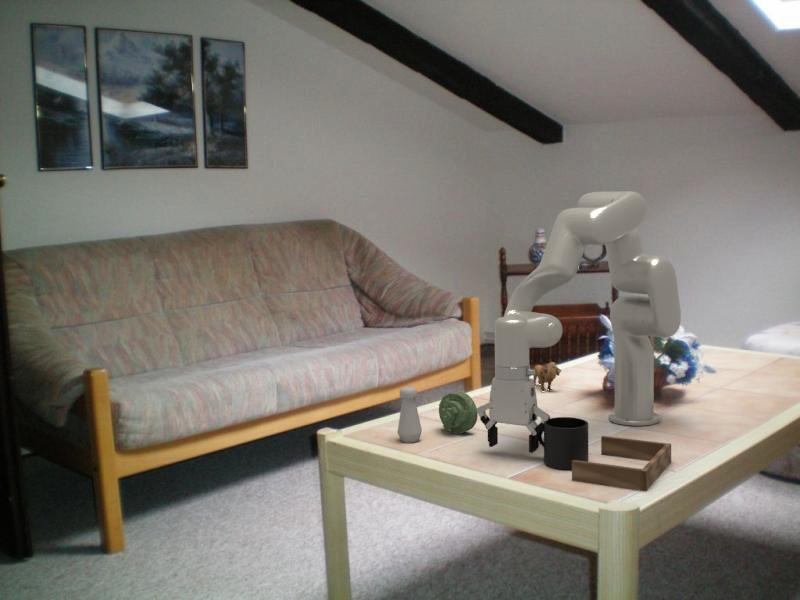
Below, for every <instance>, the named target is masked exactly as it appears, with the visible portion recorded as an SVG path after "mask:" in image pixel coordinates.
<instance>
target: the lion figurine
mask: <svg viewBox="0 0 800 600" xmlns="http://www.w3.org/2000/svg"><path fill="white" fill-rule="evenodd" d="M533 370H535V375H534V376H533V377H532V378H533V381H534V385H535V386H536V387H537V385H536V384H537V383H539V384H541V385H540V391H541V390H542V391H545V392H546V389H547V390H548V389H549V390H552V391H553V388H551V387H552V382H554V380H555V379H556V377H557V376H560V373H561V372H562V369H561V368H559V367H558V366H557V365H556V362H552V361H550V362H548V363H545V364H544V365H541V364H536V365H535V366H534V367H533ZM537 379H538V381H537ZM545 384H547V388H546V389H545Z"/></svg>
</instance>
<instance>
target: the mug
mask: <svg viewBox="0 0 800 600" xmlns="http://www.w3.org/2000/svg"><path fill="white" fill-rule="evenodd" d="M539 444H540V445H541V446H542V447H543V462H544V464H545V465H546V466H548V467H551V468H553V469H557V470H558V469H559V470H564V471H565V470H571V471H572V461H573V460H578V461H586V462H589V422H588V421H587V420H585V419H582V418H579V417H578V418H577V417H571V416H558V417H550V419H549V421H548V423H546V421H544V429H543V430H541V432H539Z"/></svg>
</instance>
